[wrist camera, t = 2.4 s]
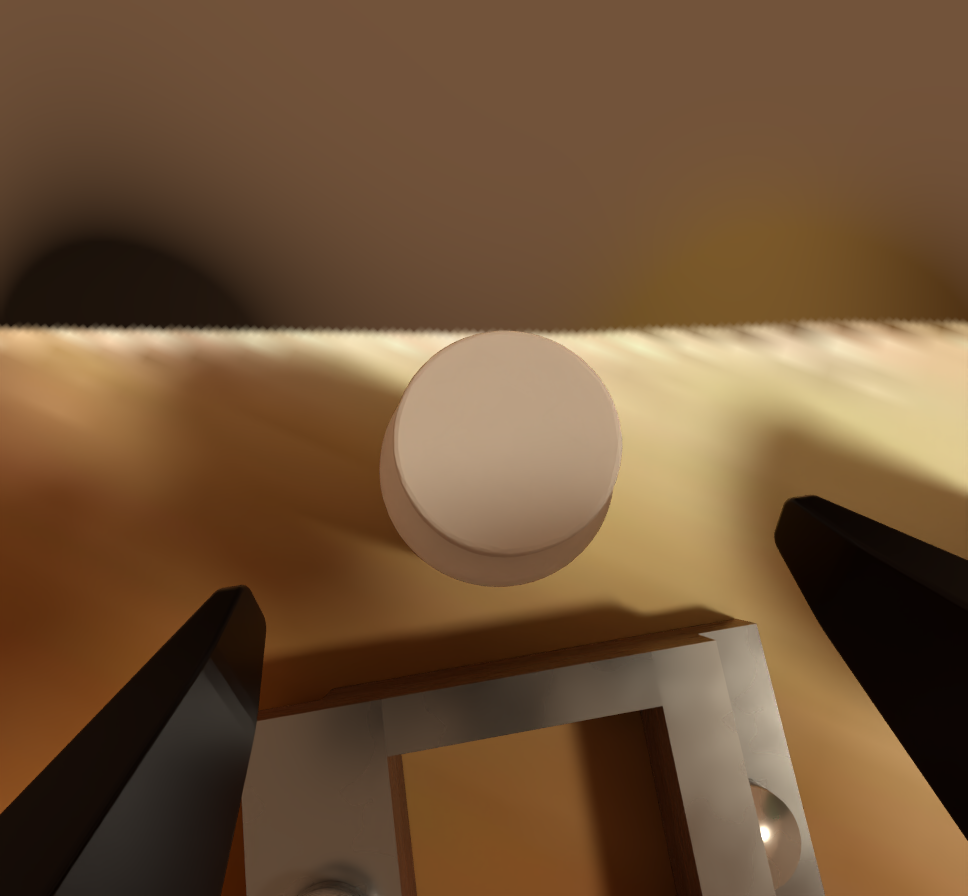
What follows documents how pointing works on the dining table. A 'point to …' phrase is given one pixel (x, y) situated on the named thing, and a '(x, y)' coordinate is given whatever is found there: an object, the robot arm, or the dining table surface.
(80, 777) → the robot arm
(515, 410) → the supplement bottle
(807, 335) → the dining table surface
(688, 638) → the grey knobbed square frame
